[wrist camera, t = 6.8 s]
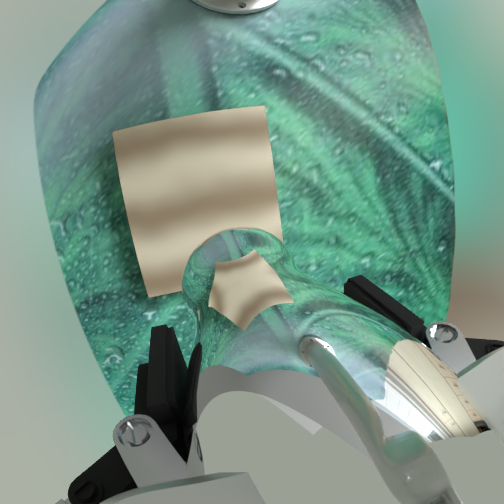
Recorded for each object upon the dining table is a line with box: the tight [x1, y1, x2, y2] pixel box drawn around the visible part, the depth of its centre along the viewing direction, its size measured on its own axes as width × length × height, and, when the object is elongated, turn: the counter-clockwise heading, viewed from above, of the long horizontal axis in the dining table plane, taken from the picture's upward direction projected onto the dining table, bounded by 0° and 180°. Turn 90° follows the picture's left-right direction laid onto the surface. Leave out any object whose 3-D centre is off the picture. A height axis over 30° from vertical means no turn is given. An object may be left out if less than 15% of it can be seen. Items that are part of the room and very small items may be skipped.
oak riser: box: [112, 106, 283, 298], centre depth 28 cm, size 16×14×3 cm
